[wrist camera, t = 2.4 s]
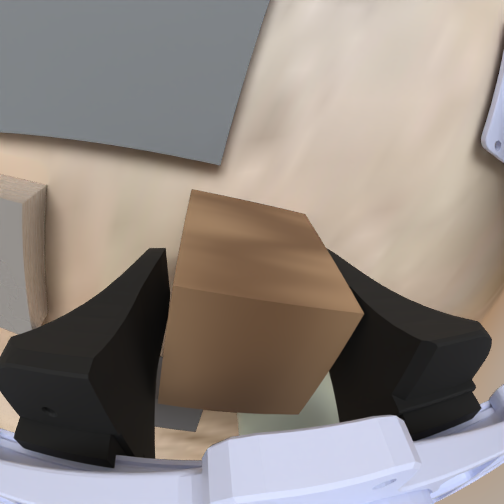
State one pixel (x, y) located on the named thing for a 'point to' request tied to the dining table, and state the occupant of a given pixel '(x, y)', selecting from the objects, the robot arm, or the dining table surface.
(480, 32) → the dining table surface
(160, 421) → the charcoal rubber bar
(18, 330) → the grey topped wooden block
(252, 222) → the walnut block
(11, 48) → the slate coaster
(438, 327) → the robot arm
